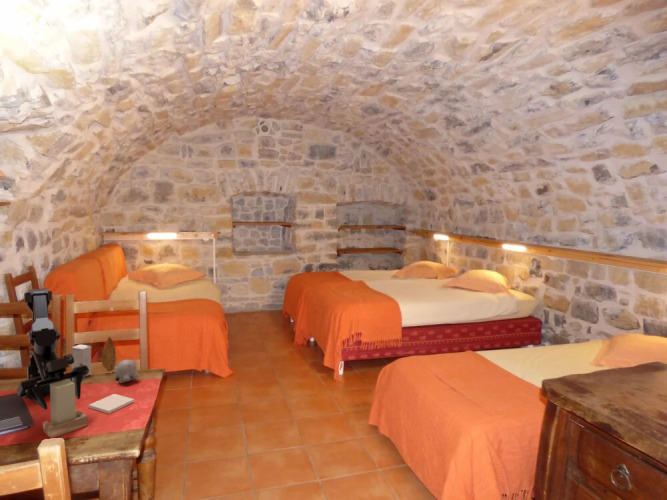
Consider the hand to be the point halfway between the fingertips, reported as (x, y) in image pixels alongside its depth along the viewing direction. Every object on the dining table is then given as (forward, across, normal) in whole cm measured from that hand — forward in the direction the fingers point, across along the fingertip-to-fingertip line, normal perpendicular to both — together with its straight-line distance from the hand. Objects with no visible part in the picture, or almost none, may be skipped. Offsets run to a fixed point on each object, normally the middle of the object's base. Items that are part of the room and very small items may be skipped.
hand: (63, 403), depth 128 cm
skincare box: (-23, +22, +34) cm, 46 cm away
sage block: (+5, 0, +6) cm, 8 cm away
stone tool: (-20, +31, +31) cm, 48 cm away
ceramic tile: (+3, +17, +8) cm, 19 cm away
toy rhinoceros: (-10, +30, +21) cm, 38 cm away
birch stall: (+6, 0, +5) cm, 8 cm away
